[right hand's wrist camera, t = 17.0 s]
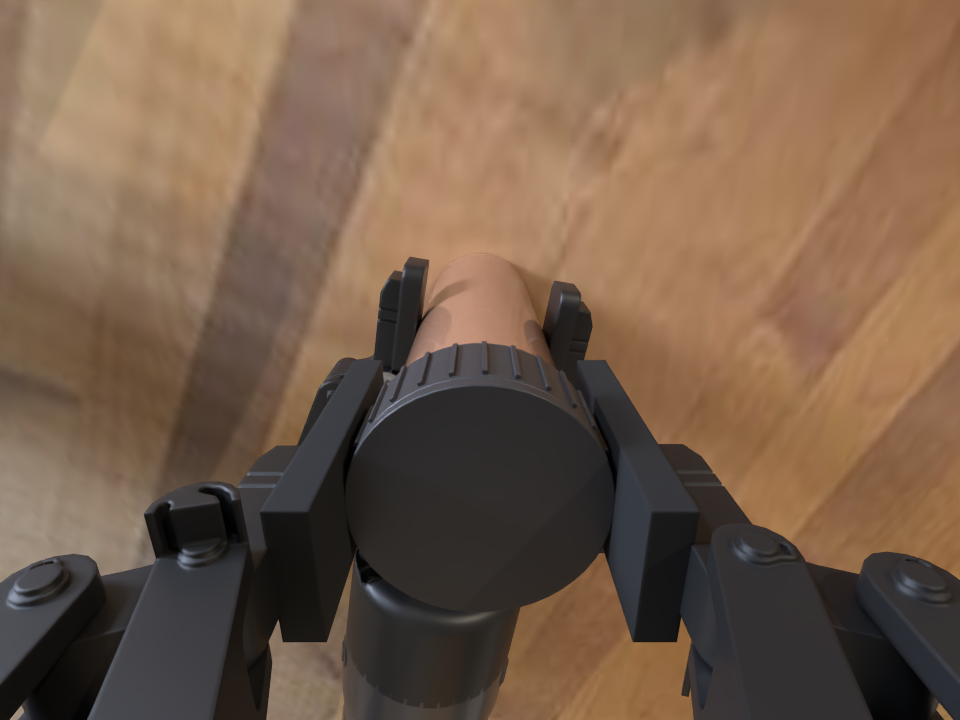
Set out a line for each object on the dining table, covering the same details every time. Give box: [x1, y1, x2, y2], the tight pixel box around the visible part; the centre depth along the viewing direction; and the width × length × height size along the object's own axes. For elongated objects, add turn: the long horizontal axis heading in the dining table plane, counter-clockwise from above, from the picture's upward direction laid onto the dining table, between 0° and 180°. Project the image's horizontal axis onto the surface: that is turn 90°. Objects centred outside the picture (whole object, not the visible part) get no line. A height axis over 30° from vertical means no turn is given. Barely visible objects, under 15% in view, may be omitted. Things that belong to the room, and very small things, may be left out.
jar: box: [405, 253, 556, 369], centre depth 18 cm, size 5×5×16 cm
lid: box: [344, 341, 616, 612], centre depth 11 cm, size 6×6×2 cm
